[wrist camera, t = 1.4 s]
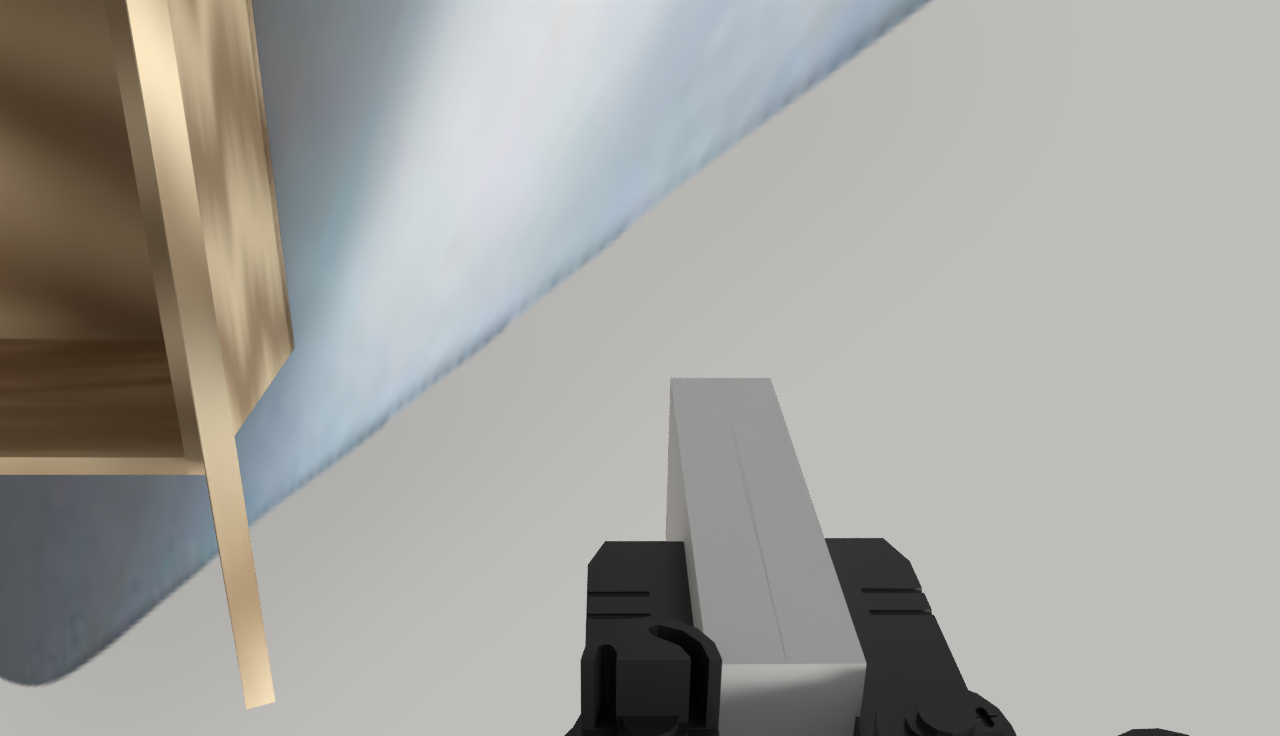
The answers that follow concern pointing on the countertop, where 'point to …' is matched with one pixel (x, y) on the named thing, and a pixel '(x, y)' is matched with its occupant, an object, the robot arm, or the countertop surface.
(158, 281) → the wooden box
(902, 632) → the robot arm
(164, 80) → the flap
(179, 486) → the countertop surface
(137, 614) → the countertop surface
